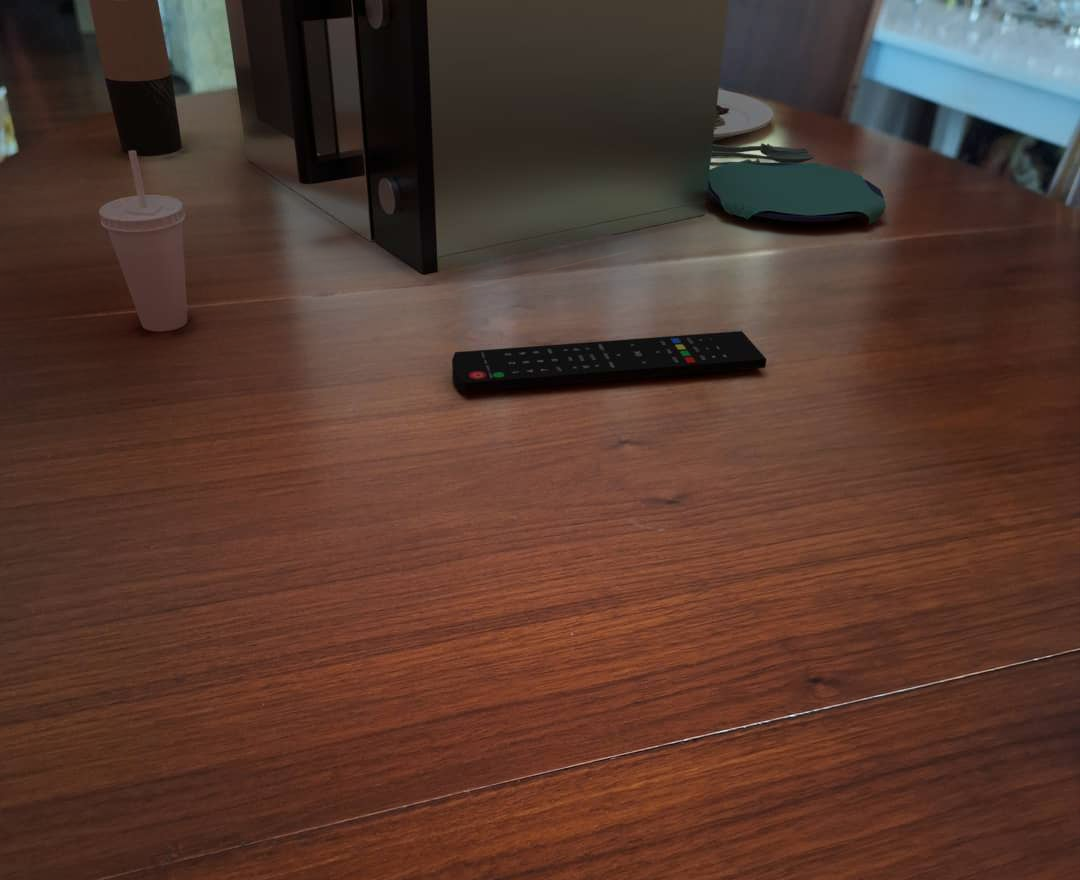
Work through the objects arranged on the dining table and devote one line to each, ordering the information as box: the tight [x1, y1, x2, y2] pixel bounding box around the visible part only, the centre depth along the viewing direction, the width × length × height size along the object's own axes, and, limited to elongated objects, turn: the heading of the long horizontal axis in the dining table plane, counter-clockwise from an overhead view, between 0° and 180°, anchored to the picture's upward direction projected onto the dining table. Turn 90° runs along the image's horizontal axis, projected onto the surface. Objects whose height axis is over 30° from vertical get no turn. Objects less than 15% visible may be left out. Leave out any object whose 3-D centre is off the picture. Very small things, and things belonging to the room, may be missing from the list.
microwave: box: [356, 0, 729, 274], centre depth 111 cm, size 35×44×28 cm
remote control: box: [451, 330, 767, 393], centre depth 80 cm, size 5×24×1 cm, turn 102°
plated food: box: [713, 89, 775, 141], centre depth 144 cm, size 30×30×3 cm
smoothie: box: [98, 150, 189, 332], centre depth 83 cm, size 6×6×14 cm
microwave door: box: [224, 0, 375, 242], centre depth 105 cm, size 7×34×28 cm, turn 34°
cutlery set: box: [707, 142, 887, 226], centre depth 119 cm, size 20×30×2 cm, turn 1°
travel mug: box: [88, 0, 183, 157], centre depth 124 cm, size 8×8×20 cm
